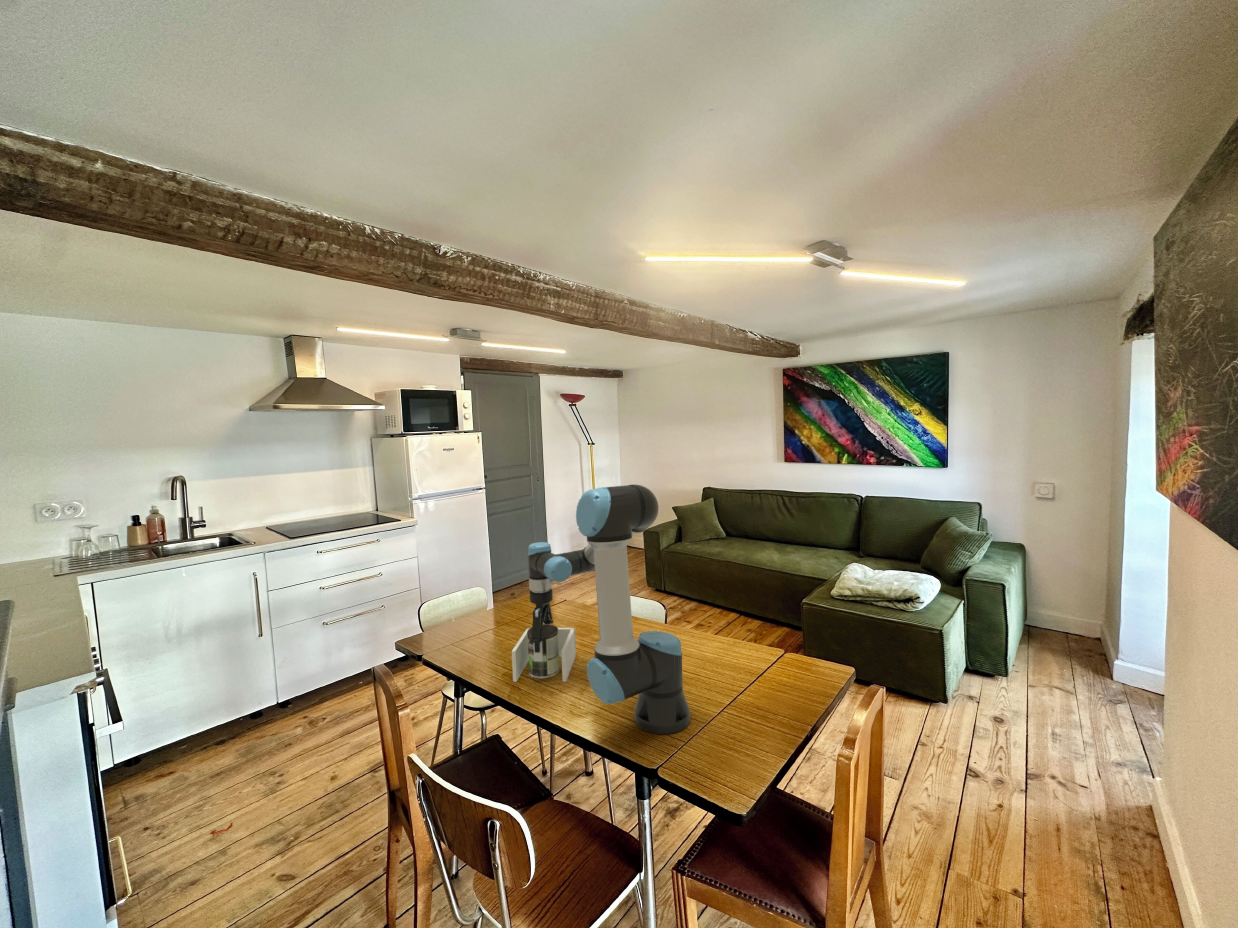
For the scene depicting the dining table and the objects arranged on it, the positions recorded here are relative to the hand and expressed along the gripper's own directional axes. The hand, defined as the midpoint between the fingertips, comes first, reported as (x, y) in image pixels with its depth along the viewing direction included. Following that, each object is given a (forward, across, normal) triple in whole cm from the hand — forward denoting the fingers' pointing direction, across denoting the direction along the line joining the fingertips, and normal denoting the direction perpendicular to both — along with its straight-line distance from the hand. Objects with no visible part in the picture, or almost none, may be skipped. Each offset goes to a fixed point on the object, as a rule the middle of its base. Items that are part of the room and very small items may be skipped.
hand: (543, 651), depth 163 cm
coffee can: (+7, 0, 0) cm, 7 cm away
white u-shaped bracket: (+7, +2, 0) cm, 7 cm away
